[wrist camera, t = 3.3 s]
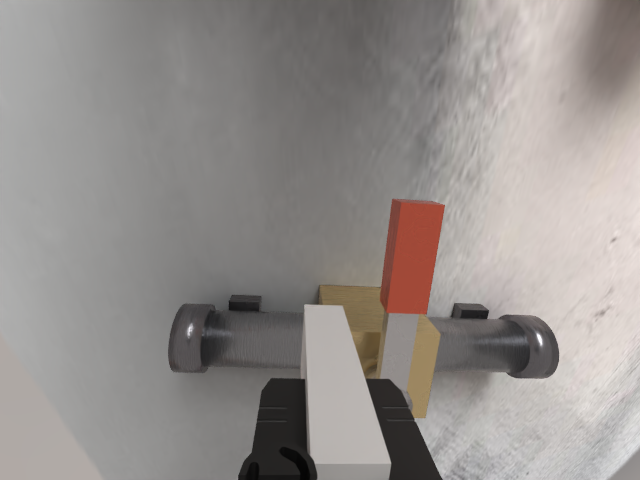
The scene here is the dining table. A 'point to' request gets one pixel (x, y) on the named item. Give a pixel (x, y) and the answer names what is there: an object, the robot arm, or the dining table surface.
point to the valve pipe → (363, 339)
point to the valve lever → (406, 284)
